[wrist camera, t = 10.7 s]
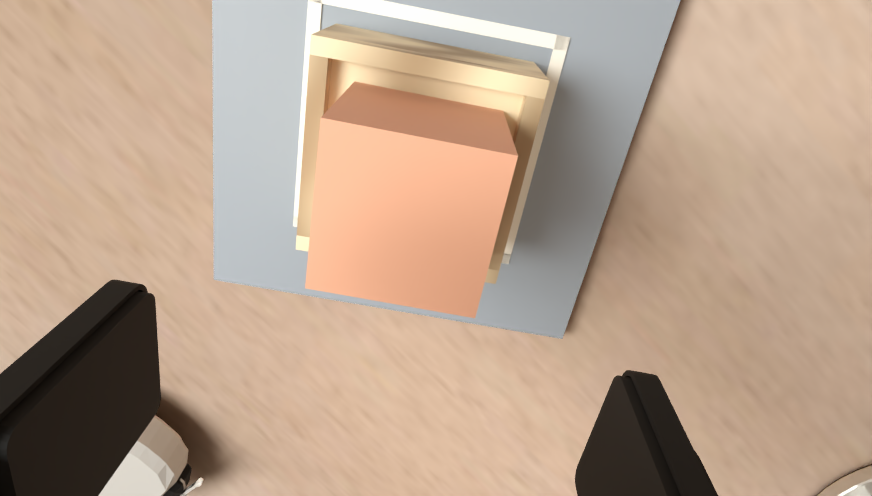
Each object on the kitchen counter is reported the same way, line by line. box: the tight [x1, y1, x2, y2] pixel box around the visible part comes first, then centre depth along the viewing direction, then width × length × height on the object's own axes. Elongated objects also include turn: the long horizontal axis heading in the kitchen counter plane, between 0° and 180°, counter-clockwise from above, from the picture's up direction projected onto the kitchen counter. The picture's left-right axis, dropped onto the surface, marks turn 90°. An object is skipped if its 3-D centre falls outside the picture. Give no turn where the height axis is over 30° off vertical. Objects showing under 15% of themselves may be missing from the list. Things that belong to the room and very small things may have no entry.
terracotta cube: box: [305, 81, 518, 318], centre depth 20 cm, size 6×6×6 cm
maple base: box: [296, 23, 550, 284], centre depth 25 cm, size 9×9×5 cm
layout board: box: [212, 0, 680, 339], centre depth 27 cm, size 20×20×1 cm
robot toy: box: [98, 415, 204, 496], centre depth 37 cm, size 12×4×15 cm
